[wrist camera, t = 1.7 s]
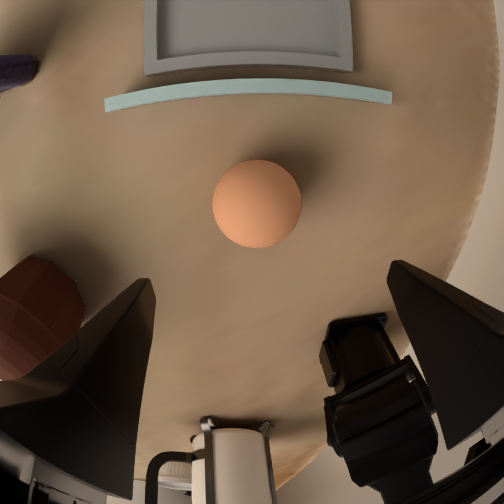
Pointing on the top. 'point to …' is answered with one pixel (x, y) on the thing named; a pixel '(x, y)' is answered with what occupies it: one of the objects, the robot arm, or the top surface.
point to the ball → (256, 203)
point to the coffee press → (223, 466)
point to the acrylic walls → (246, 91)
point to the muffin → (35, 315)
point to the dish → (246, 35)
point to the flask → (17, 70)
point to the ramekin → (175, 476)
